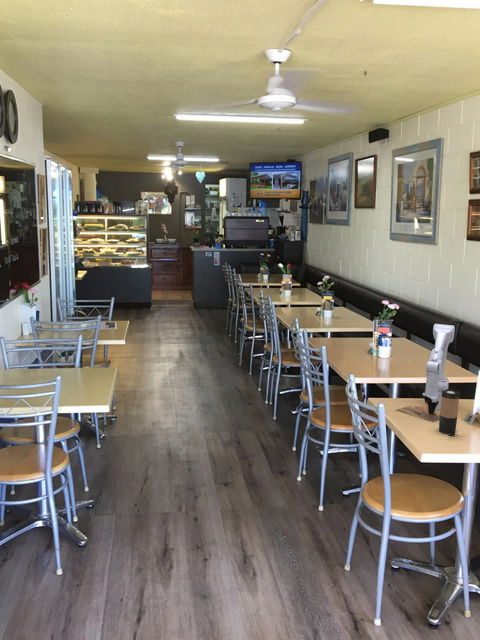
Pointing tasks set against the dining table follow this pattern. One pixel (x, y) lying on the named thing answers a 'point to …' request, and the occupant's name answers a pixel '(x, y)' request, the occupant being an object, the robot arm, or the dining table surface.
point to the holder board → (418, 414)
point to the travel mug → (448, 411)
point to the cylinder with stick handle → (424, 409)
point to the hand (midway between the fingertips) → (429, 412)
